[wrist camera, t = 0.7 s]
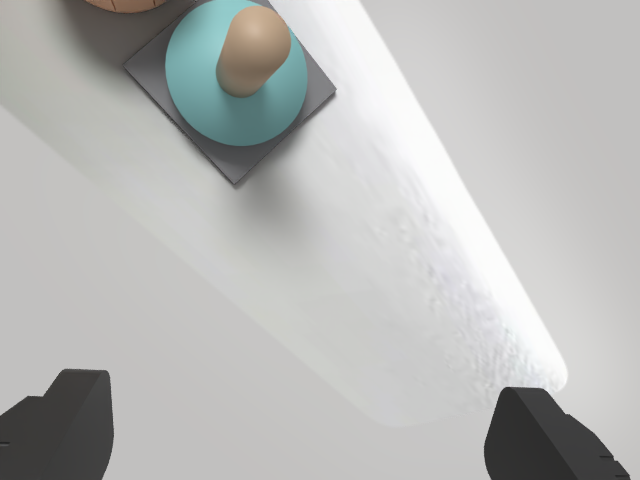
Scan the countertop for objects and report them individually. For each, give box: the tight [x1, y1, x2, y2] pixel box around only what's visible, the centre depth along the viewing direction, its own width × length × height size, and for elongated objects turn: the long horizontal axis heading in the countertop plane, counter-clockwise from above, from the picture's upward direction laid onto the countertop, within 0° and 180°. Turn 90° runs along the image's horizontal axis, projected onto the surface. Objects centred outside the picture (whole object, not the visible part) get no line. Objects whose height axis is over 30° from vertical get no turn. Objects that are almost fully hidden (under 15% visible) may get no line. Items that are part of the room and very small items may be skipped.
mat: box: [123, 0, 337, 184], centre depth 31 cm, size 10×10×1 cm
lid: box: [165, 0, 307, 146], centre depth 26 cm, size 9×9×9 cm
